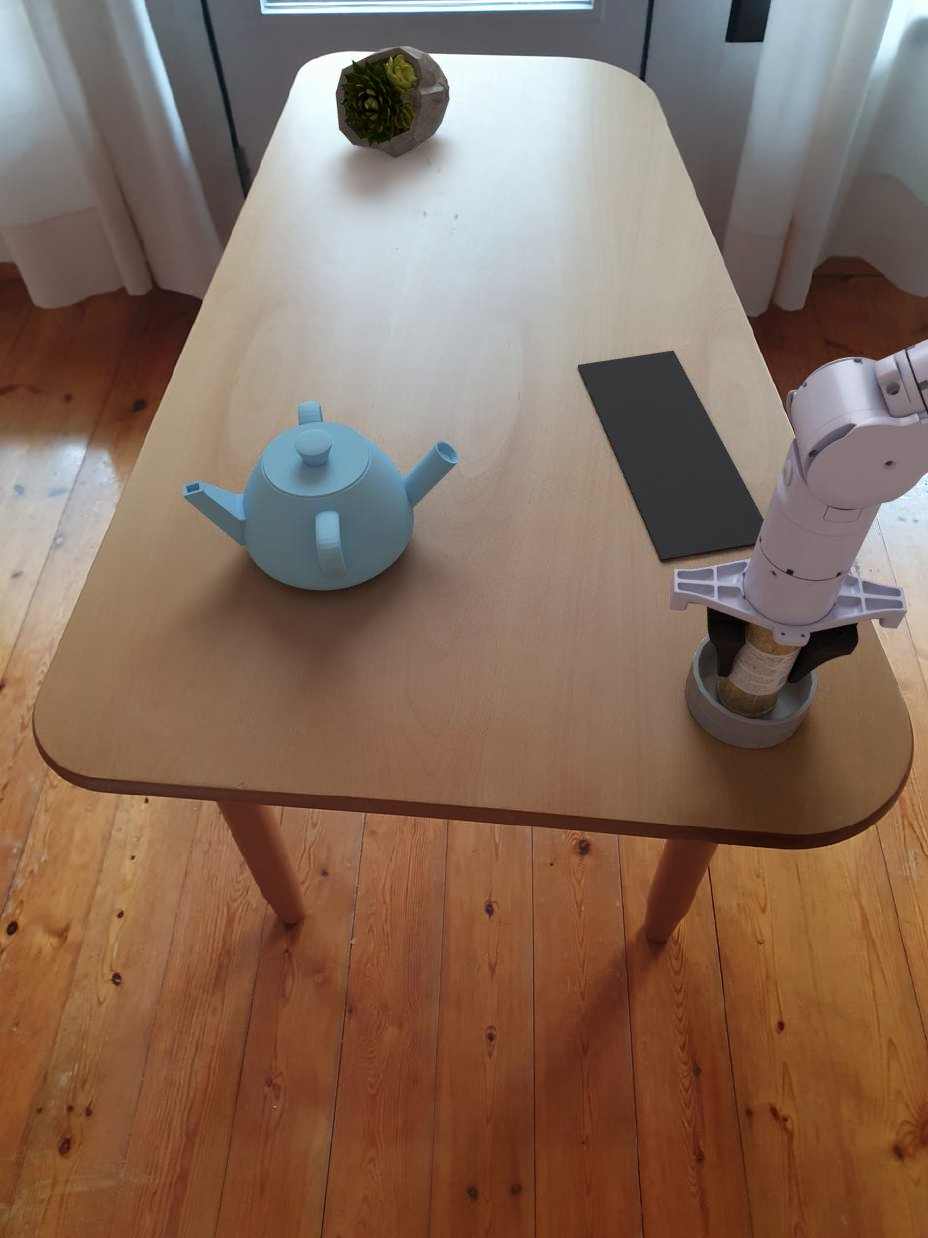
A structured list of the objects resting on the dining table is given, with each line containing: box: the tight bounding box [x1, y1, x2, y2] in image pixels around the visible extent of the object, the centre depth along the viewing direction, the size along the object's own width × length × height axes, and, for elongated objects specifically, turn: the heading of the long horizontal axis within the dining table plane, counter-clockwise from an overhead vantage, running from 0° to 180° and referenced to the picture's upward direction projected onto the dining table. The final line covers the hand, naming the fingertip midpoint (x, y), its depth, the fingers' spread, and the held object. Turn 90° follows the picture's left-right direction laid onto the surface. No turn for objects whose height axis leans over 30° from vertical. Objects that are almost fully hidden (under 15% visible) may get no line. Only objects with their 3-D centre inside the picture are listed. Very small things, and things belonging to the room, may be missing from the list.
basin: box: [684, 633, 819, 750], centre depth 70 cm, size 9×9×4 cm
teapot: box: [181, 400, 460, 591], centre depth 77 cm, size 15×17×11 cm
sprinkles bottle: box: [717, 621, 802, 718], centre depth 65 cm, size 5×5×13 cm
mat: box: [577, 350, 764, 562], centre depth 87 cm, size 26×10×1 cm, turn 11°
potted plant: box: [334, 45, 451, 159], centre depth 116 cm, size 12×13×15 cm
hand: (756, 668), depth 68 cm, fingers closed on sprinkles bottle, 4 cm apart
